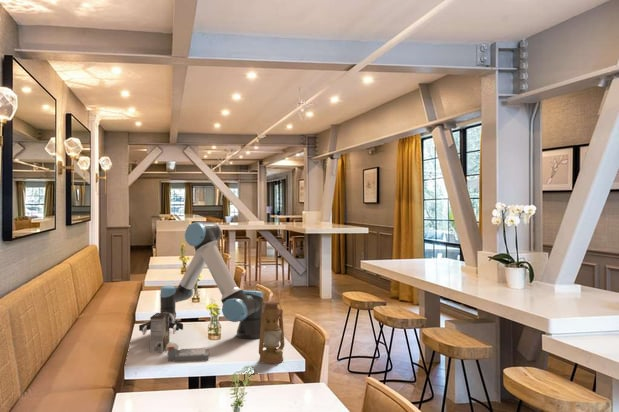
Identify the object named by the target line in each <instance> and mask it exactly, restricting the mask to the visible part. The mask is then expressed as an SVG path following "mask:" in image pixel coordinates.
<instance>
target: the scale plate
mask: <svg viewBox="0 0 619 412" xmlns="http://www.w3.org/2000/svg"><path fill="white" fill-rule="evenodd" d="M206 349H207V348H206V347H197V348H194V347H193V348H181V349H179V350H180V352H179V356H197V355H205V351H206Z"/></svg>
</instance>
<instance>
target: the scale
mask: <svg viewBox="0 0 619 412" xmlns="http://www.w3.org/2000/svg"><path fill="white" fill-rule="evenodd" d="M180 350H181V349H179V345H178V344H177V342H173V341H169V343H168V344H167V346H166V350H165V351H167V362H174V363H177V362H178V363H179V362H201V361H202V362H203V361H204V362H207V361H209V356H210V348H206V351H205V355H197V356H179V352H180Z"/></svg>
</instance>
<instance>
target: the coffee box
mask: <svg viewBox="0 0 619 412" xmlns="http://www.w3.org/2000/svg"><path fill="white" fill-rule="evenodd" d="M149 321H150V332H149V333H150V339H149V341H150V342H149V343H150V344H149V345H150V346H149V347H150V353H165V351H167V350H166V346H167V344H168V343H170V328H169V313H160V312H156V313H154V314H153V315H152V316H150V320H149Z"/></svg>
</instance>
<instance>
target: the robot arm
mask: <svg viewBox="0 0 619 412" xmlns="http://www.w3.org/2000/svg"><path fill="white" fill-rule="evenodd" d="M221 230H222V229H221V227H220V226H219V225H218V224H217V223H215V222H214V221H196V222H193V223H191V224H189V225H188V226H187V227H186V229H185V232H184V239H185V242H186V243H187V244H188V245H189V246H190V247H193V249H194V250H195V253H194V255H193V256H192V259H191V261H190V262H189V265H188V266H187V269H186V270H185V272H184V275H182V278H181V280H180V283H178V285H177V287H176V286H174V285H165V286H162V287H161V288H160V293H159V294H160V295H159V296H160V298H159V299H160V300H159V301H160V302H159V303H160V311H159V313H169V329H172V334H173V335H174V334H176V333H177V331H179V330H181V331H183V330H184V324H183V322H180V321H179V320H177V319H176V318H177V313H176V304H177V303H178V302H183V301H186V300H189V299H191V298H192V296H193V295H194V287H195V285H196V283H197V281H198V279H199V277H200V275H201V274H202V271H203V269H204V267H205V265H206V266H207V269H208V272H209V273H210V274H211V277H212V278H213V280H214V282H215V284H216V286H217V289H218V290H219V292H220V294H221V299H220V301H221V304H222V308H221V313H222V316H224V318H225V319H226V320H227V321H229V322H231V323H238V322H239V324H238V327H237V329H236V337H237V336H238V338H240V339H247V340H249V339H250V340H251V339H260V328H261V314H262V313H263V308H264V304H263V302H264V293H263V292H262V291H261V290H247V289H246V290H245V289H244V290H243V289H242V288H241V287H238V285H237V284H236V281H235V279H234V278H233V276H232V274H231V271H230V270H229V268H228V266H227V263H226V262H225V259H224V258H223V257H222V254H221V252H220V250H219V248H218V246H219V243H220V241H221V237H222V231H221ZM149 330H150V320H149V321H148V322H145V323H142V324H139V325H138V331H140V332H141V333H142V336H145V335H146V333H147V331H149Z"/></svg>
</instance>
